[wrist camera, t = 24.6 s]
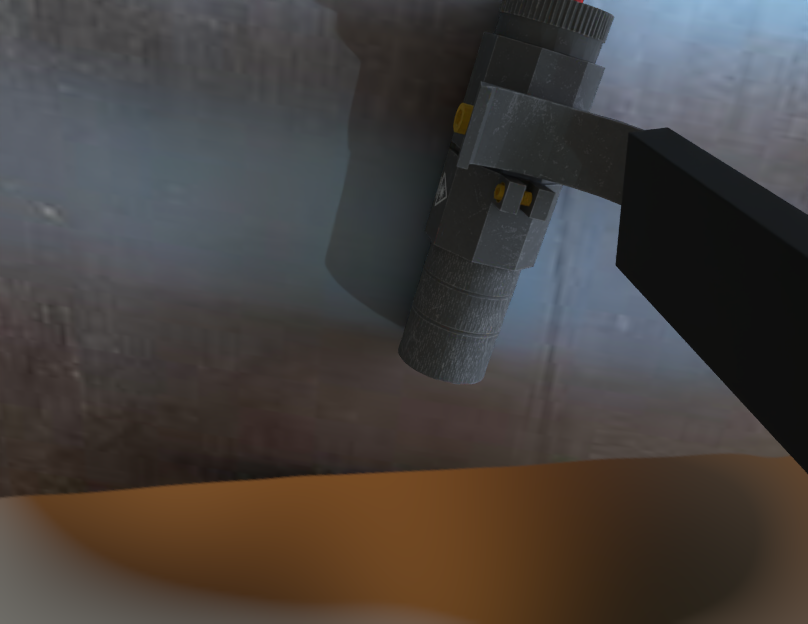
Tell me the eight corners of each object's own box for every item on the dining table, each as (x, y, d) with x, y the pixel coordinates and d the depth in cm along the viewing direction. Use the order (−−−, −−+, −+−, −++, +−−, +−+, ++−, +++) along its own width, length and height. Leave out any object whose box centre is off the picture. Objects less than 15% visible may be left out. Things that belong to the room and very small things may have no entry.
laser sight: (359, 326, 48) (382, 406, 39) (464, -46, 40) (523, -52, 31) (498, 352, 51) (550, 433, 42) (622, 6, 43) (718, 15, 34)
